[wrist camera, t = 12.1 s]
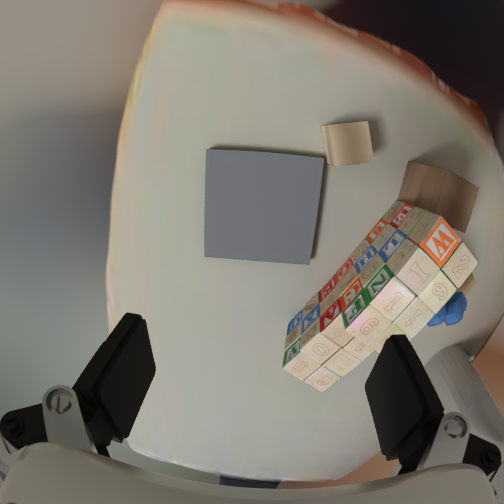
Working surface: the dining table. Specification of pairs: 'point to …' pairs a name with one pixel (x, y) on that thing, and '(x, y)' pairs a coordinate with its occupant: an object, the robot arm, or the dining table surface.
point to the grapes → (450, 310)
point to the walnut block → (439, 193)
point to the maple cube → (347, 143)
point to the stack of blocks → (378, 295)
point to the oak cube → (467, 284)
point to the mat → (261, 205)
